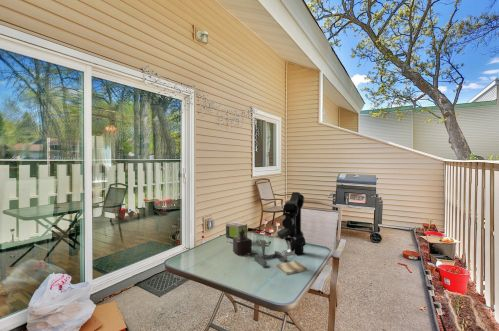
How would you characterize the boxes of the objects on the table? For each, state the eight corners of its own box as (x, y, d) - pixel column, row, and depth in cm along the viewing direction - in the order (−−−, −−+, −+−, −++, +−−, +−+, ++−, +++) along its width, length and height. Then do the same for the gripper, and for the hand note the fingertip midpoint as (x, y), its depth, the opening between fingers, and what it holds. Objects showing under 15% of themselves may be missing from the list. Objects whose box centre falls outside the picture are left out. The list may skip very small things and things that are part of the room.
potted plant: (231, 251, 180) (231, 226, 180) (245, 248, 185) (245, 224, 185) (240, 258, 166) (240, 231, 166) (255, 255, 171) (255, 229, 171)
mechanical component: (270, 256, 170) (270, 241, 169) (255, 255, 172) (255, 240, 172) (271, 254, 173) (271, 240, 172) (256, 253, 175) (256, 239, 174)
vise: (277, 256, 170) (277, 250, 170) (287, 262, 159) (287, 257, 159) (254, 260, 163) (254, 255, 163) (263, 267, 152) (263, 261, 152)
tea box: (247, 242, 199) (247, 223, 199) (238, 245, 192) (238, 226, 191) (234, 238, 209) (234, 220, 209) (225, 241, 202) (225, 223, 202)
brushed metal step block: (291, 253, 152) (291, 240, 152) (294, 254, 150) (294, 241, 150) (281, 255, 150) (281, 241, 149) (284, 256, 147) (284, 243, 147)
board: (295, 262, 159) (295, 260, 159) (307, 269, 148) (307, 267, 148) (275, 266, 153) (275, 264, 153) (286, 274, 142) (286, 272, 142)
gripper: (271, 222, 155) (271, 247, 156) (288, 229, 138) (288, 258, 139) (286, 220, 160) (286, 244, 160) (304, 227, 143) (305, 254, 143)
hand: (291, 250), depth 150 cm, fingers closed on brushed metal step block, 3 cm apart
